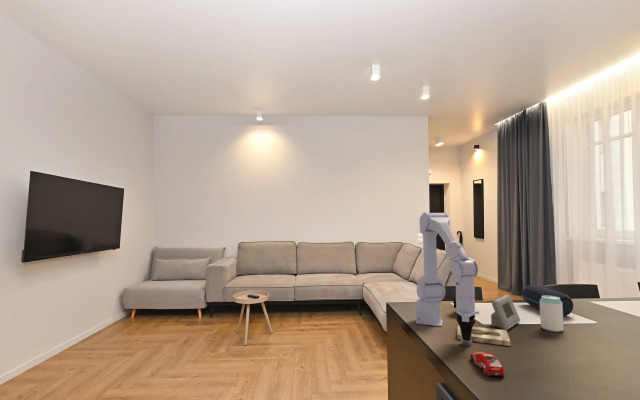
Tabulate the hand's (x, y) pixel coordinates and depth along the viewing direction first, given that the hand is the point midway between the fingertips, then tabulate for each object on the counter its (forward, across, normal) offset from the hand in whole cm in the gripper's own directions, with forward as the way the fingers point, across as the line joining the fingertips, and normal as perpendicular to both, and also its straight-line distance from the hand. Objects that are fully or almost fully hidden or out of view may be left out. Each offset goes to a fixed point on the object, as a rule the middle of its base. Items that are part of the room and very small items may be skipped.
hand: (466, 338), depth 111 cm
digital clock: (+2, +28, -14) cm, 31 cm away
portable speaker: (+2, +60, -33) cm, 68 cm away
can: (+2, +29, -29) cm, 41 cm away
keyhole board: (+2, +10, -5) cm, 11 cm away
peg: (+2, 0, 0) cm, 2 cm away
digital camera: (+2, +41, +2) cm, 41 cm away
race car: (+2, -17, -5) cm, 18 cm away
